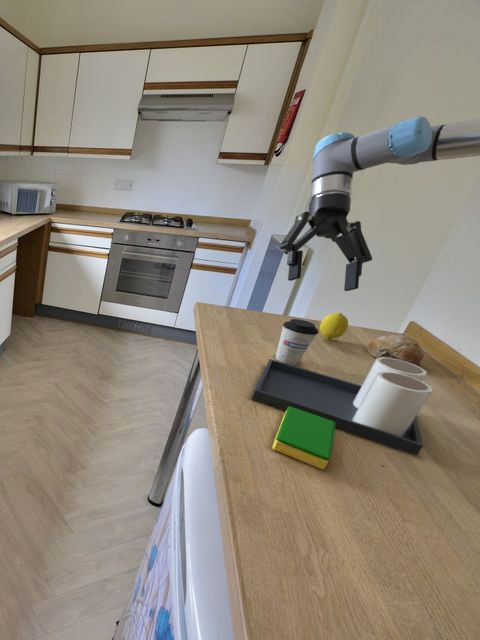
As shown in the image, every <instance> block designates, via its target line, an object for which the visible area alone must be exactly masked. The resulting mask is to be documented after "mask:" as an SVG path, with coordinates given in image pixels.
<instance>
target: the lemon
mask: <svg viewBox="0 0 480 640" xmlns="http://www.w3.org/2000/svg"><path fill="white" fill-rule="evenodd" d="M348 327H349V319H348V318H347V317H346V316H345V314H343V313H342V312H335V313H334V312H333V313H331V314H328V315H326V316H325V317H324V318H323V319H322V320H321V322H320V326H319V332H320V333H321V335H322V336H324V337H325V339H326V340H332V339H338V338H340V337H342V336H343V335H344V334H345V333H346V331H347V329H348Z"/></svg>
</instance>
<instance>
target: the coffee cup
mask: <svg viewBox="0 0 480 640" xmlns="http://www.w3.org/2000/svg"><path fill="white" fill-rule="evenodd" d="M318 334H319V329H318V328H317V327H316V324H314V323H313V322H311V321H308V320H304V319H300V318H299V319H298V318H291V319H290V320H287V321H285V322H283V324H282V330H281V334H280V336H279V337H280V338H279V342H278V346H277V350H276V354H275V359H276V361H278V362H282V363H285V364H289V365H292V366H296V365H298V364H299V363H300V361H301V359H302V357H303V356H304V354H305V353H306V351H307V350H308V348H309V347H310V345H311V344H312V342H313V340H314V339H315V337H316V335H318Z"/></svg>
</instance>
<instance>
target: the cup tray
mask: <svg viewBox="0 0 480 640" xmlns="http://www.w3.org/2000/svg"><path fill="white" fill-rule="evenodd" d="M265 365H266V366H265V368H264V370H263V372H262V374H261V376H260V378H259V381H258V383H257V385H256V387H255V389H254V392H253V394H252V396H251V400H253V401H255V402H258V403H261V404H265V405H267V406H271V407H274V408H276V409H278V410H282V411H284V412H286V411H287V408H288V407H293V408H296V409H299V410H302V411H305V412H308V413H311V414H313V415H316V416H319V417H322V418H325V419H328V420H331V421H334V422H335V423H336V426H335V429H337V430H340V431H342V432H345V433H348V434H351V435H355V436H357V437H359V438H363V439H366V440H369V441H372V442H374V443H377V444H380V445H383V446H386V447H388V448H392V449H395V450H398V451H401V452H403V453H406V454H409V455H412V456H415V457H417V456H418V455H419V453H420V451H421V450H422V449H423V447H424V444H423V443H424V442H423V439H422V435H421V430H420V425H419V421H418V417H417V416H416V417H415V419H414V420H413V422H412V424H411V425H410V427H409V428H408V430H407V431H406V433H405V435H404V436H403V437H400V436H397V435H394V434H391V433H388V432H385V431H382V430H379V429H375V428H372V427H369V426H366V425H363V424H360V423H357V422H354V421H353V420H352V419H353V417H354V415H355V413H356V411H357V410H358V408H356V407H355V406H354V405H353V401H354V399H355V397H356V395H357V393H358V392H359V390H360V388H361V386H362V384H359V383H358V384H357V383H354V382H351V381H347V380H344V379H341V378H337V377H334V376H330V375H326V374H323V373H319V372H316V371H313V370H309V369H306V368H303V367H299V366H296V365H292V364H287V363H283V362H281V361H279V360H274V359H271V358H269V359H268V361H267V363H266V364H265Z"/></svg>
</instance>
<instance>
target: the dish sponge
mask: <svg viewBox="0 0 480 640" xmlns="http://www.w3.org/2000/svg"><path fill="white" fill-rule="evenodd" d="M335 426H336V423H335V422H334V421H331V420H328V419H325V418H322V417H319V416H316V415H313V414H311V413H308V412H305V411H302V410H299V409H296V408H293V407H288V408H287V411H285V413H284V414H283V418H282V420H281V422H280V426H279V428H278V431H277V433H276V436H275V438H274V440H273V443H272V446H271V449H273V450H274V451H276V452H279V453H281V454H283V455H286V456H289V457H291V458H294V459H296V460H298V461H301V462H303V463H306V464H308V465H311V466H314V467H316V468H318V469H320V470H325V469H326V468H327V465H328V464H329V461H330V460H331V455H332V449H333V444H334V438H335V432H336V428H335Z"/></svg>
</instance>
